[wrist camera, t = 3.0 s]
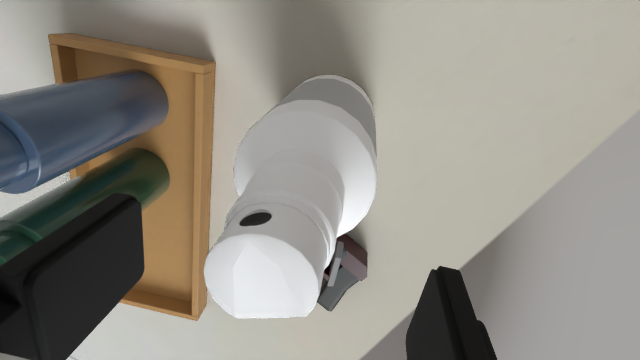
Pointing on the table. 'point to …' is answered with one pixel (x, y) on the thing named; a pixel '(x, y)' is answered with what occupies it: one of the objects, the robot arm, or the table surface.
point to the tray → (179, 157)
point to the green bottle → (83, 198)
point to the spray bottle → (294, 199)
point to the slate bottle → (73, 124)
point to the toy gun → (342, 271)
